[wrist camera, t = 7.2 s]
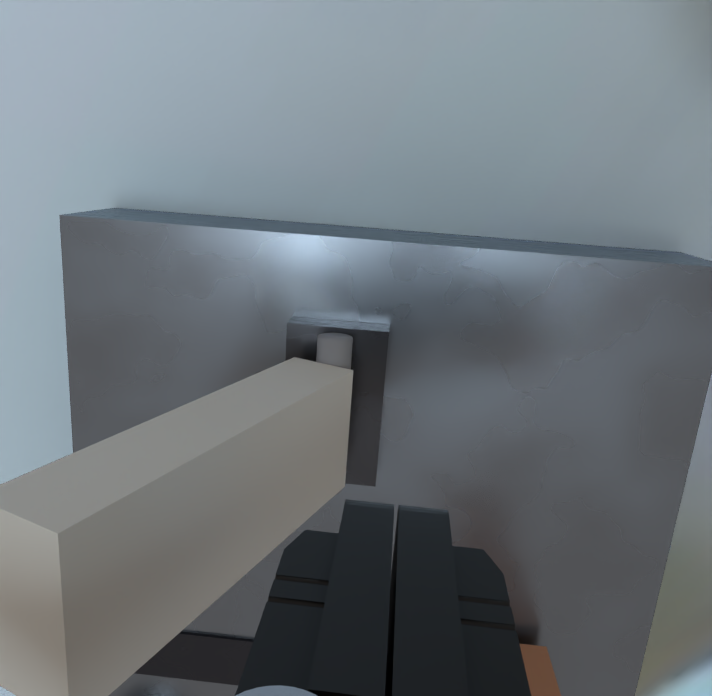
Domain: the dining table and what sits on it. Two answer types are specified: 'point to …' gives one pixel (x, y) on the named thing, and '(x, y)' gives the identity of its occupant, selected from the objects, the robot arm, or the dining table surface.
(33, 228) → the dining table surface
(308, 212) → the dining table surface
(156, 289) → the panel
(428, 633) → the robot arm
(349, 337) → the lever
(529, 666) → the slider knob
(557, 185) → the dining table surface
